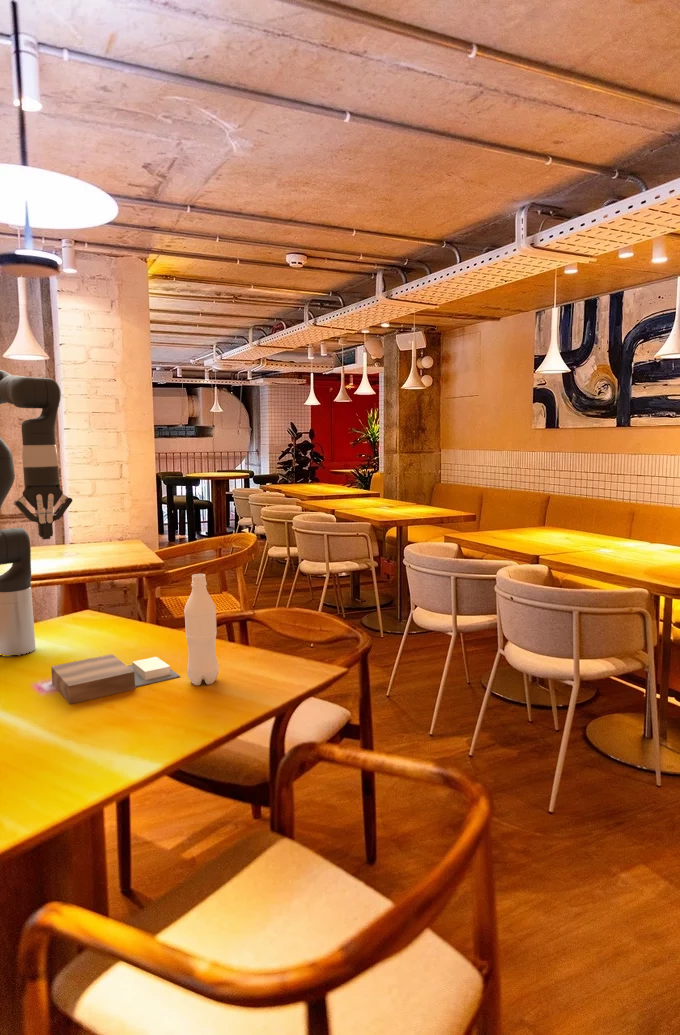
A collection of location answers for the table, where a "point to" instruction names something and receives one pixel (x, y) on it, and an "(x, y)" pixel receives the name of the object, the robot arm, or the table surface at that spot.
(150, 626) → the table surface
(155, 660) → the white flat block
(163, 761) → the table surface
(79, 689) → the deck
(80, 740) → the table surface
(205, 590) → the water bottle
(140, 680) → the mat
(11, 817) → the table surface
